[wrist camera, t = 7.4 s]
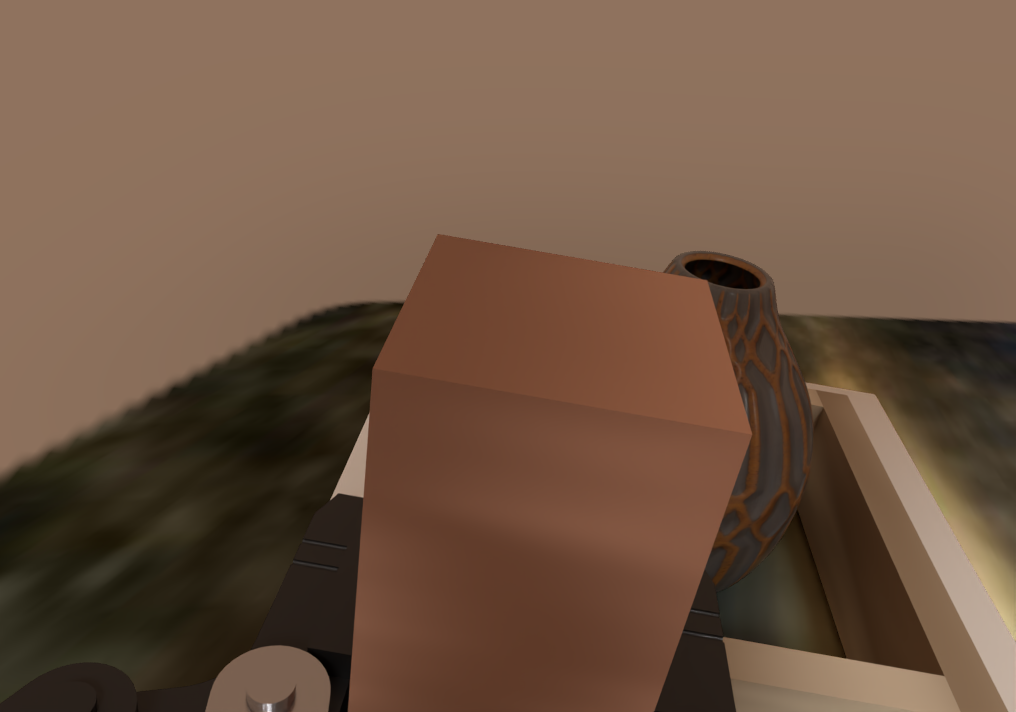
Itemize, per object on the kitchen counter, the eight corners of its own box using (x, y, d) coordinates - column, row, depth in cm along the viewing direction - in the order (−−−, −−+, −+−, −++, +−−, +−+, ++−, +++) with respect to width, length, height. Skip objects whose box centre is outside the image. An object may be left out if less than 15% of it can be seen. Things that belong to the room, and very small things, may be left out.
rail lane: (855, 439, 30) (875, 394, 29) (1299, 1359, 11) (1397, 1316, 10) (409, 361, 31) (413, 314, 30) (91, 1132, 11) (74, 1070, 10)
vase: (518, 463, 26) (567, 201, 22) (727, 485, 27) (814, 234, 23) (526, 633, 20) (595, 318, 16) (795, 657, 21) (931, 360, 17)
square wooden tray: (814, 475, 27) (962, 114, 22) (1087, 1194, 12) (1854, 627, 6) (460, 413, 28) (512, 38, 22) (289, 1045, 12) (310, 357, 6)
